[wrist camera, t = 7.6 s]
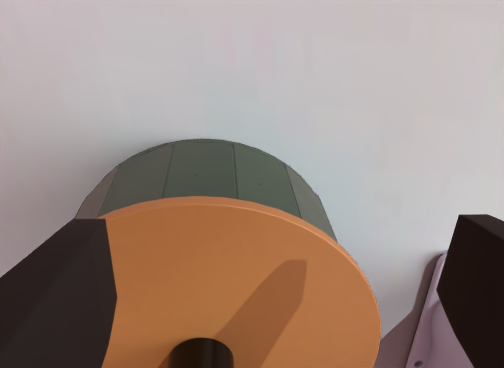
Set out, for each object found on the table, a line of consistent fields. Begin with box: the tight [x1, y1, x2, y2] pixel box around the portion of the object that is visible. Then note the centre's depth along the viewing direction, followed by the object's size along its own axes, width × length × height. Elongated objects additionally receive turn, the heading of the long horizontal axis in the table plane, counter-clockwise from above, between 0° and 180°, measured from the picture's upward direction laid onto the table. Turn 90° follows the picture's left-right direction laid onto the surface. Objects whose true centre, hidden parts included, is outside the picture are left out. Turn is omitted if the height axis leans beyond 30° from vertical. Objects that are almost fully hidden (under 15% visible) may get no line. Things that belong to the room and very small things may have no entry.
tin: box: [75, 139, 338, 243], centre depth 19 cm, size 12×12×6 cm
